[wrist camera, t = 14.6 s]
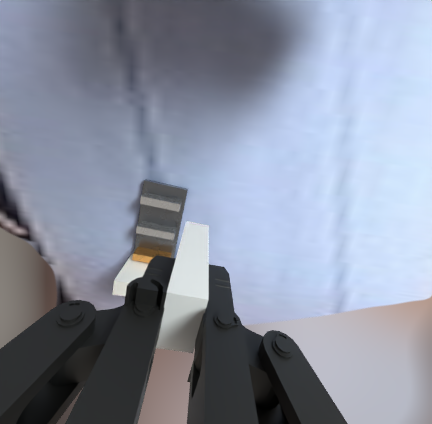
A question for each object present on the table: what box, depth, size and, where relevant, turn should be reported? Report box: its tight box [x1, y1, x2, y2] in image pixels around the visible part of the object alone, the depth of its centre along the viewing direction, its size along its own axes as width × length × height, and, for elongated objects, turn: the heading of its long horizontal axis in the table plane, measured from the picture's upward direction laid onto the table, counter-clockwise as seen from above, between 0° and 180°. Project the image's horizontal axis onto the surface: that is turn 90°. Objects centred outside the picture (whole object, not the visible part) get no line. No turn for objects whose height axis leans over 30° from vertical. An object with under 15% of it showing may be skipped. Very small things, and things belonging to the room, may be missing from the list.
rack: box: [132, 180, 188, 263], centre depth 36 cm, size 20×7×4 cm, turn 166°
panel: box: [112, 254, 149, 296], centre depth 34 cm, size 2×8×8 cm, turn 76°
